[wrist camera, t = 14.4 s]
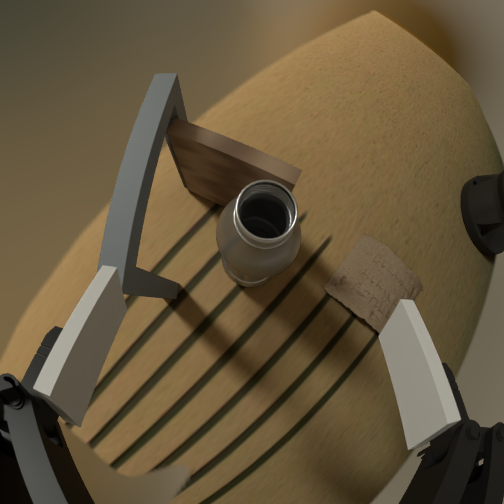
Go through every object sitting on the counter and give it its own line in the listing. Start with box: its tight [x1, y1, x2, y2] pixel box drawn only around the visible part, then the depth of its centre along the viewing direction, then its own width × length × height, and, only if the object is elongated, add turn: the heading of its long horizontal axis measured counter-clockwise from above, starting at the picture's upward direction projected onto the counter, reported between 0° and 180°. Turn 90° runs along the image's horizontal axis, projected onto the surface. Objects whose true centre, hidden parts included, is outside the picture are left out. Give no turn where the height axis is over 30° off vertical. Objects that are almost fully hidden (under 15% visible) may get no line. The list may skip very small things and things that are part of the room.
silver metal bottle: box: [216, 180, 301, 287], centre depth 26 cm, size 6×7×20 cm
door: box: [165, 118, 302, 207], centre depth 29 cm, size 13×3×14 cm, turn 64°
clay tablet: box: [323, 234, 423, 334], centre depth 35 cm, size 14×10×3 cm
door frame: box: [97, 73, 188, 299], centre depth 27 cm, size 2×18×18 cm, turn 174°
